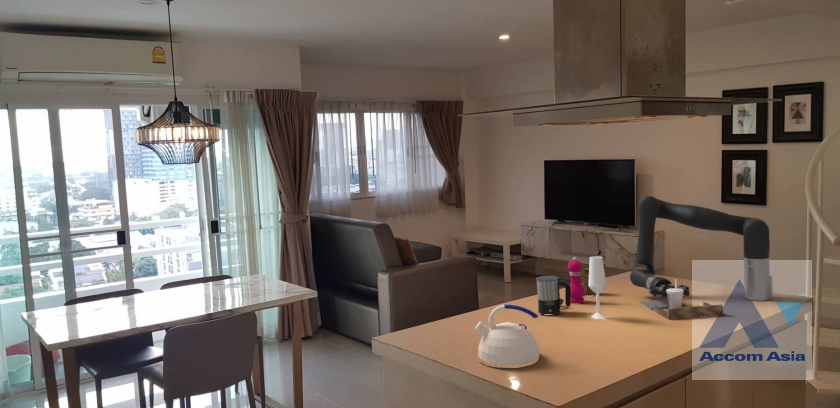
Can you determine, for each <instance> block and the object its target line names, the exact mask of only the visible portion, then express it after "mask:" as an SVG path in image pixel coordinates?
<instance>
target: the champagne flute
mask: <svg viewBox="0 0 840 408" xmlns="http://www.w3.org/2000/svg"><path fill="white" fill-rule="evenodd" d="M588 264H589V265H588V266H589V267H588V268H589V283H588V285H589V287H590V289H591V290H592V291H593V292H595V293H596V295H595V297H596V301H595V302H596V312H595V313H594V314H592V315H591V316H590V317H592V318H595V319H594V320H596V319H603V320H606V319H605V318H607V317H608V316H607V315H605V314H603V313H602V312H601V304H600V302H601V301H600V294H601V293H602V292H603V291H604V290H605V289H606V286H607V282H606V281H607V280H606V274H605V267H604V259H603V256H600V255H597V256H596V255H595V256H589V263H588ZM599 293H600V294H599ZM607 319H608V318H607Z"/></svg>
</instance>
